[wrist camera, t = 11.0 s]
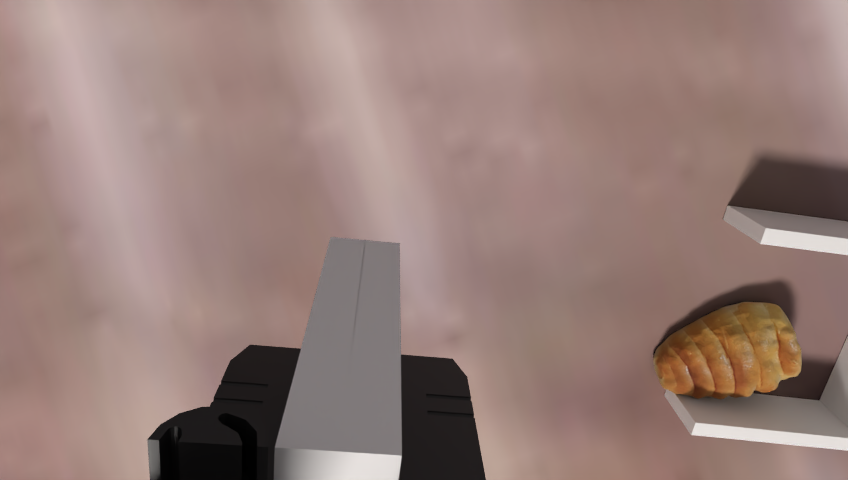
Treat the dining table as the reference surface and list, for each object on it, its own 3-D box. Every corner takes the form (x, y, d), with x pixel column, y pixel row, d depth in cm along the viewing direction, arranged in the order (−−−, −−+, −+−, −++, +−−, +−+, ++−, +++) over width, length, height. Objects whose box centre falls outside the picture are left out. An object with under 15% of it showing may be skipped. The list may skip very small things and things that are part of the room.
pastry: (659, 400, 46) (681, 433, 42) (640, 326, 44) (662, 353, 40) (782, 363, 45) (815, 393, 42) (770, 285, 43) (803, 310, 39)
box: (727, 205, 40) (765, 228, 36) (908, 229, 41) (966, 254, 37) (664, 395, 46) (691, 434, 41) (826, 412, 47) (868, 452, 42)
